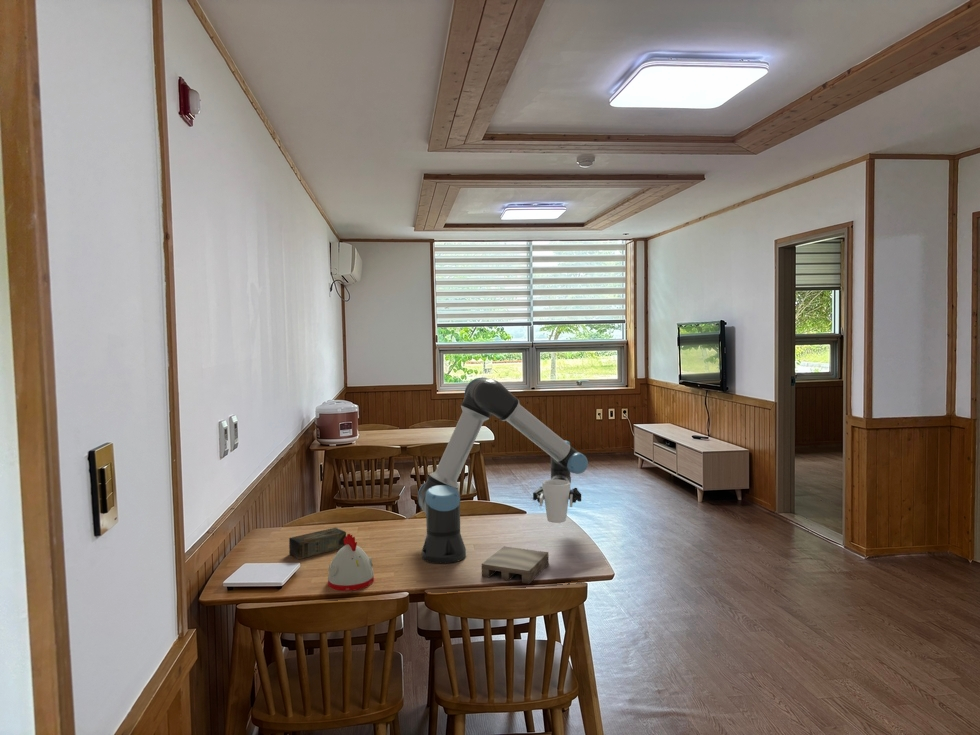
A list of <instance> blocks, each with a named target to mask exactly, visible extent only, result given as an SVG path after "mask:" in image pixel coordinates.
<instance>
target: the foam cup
mask: <svg viewBox="0 0 980 735" xmlns="http://www.w3.org/2000/svg"><path fill="white" fill-rule="evenodd" d="M542 487H543V492H544V505H545V506H544V507H545V513H546V519H547V522H550V523H555V524H556V523H557V524H558V523H559V524H560V523H565V522H566V520H567V514H568V508H569V507H568V506H569V501H570V500H569V492H570V490H571V483H570V482H569V481H566V480H551V479H547V480H543V481H542Z"/></svg>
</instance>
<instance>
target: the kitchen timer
mask: <svg viewBox="0 0 980 735" xmlns="http://www.w3.org/2000/svg"><path fill="white" fill-rule="evenodd" d="M357 543H358V541H356V537H355V536H353V534H351V533H346V536H345V539H344V544H345V546H343V547H342V548H340V549H338V551H337V552H336V553H335V555H334V557H333V559H332V561H331V562H329V565H328V566H329V567H328V577H327V585H328V587H329V588H330V589H332V590H335V591H340V592H341V591H345V592H347V591H349V592H351V591H356V590H361V589H365V588H367V587H369V586H370V585H372V584H373V582H375V578H374V575H375V574H374V570H373V561H372V557H371V556H368V555H367V553H366V552H365V551H364V550H363V548H362V547H360V546H358V544H357Z"/></svg>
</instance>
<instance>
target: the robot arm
mask: <svg viewBox="0 0 980 735" xmlns="http://www.w3.org/2000/svg"><path fill="white" fill-rule="evenodd" d="M460 407H461V408H460V409H461V410H462V412H461V414H460V417H459V418H458V422H457V423H456V426H455V427H454V430H453V433H452V434H451V437H450V439H449V441H448V443H447V445H446V447H445V449H444V452H443V454H442V456H441V458H440V461H439V463H438V465H437V467H436V469H435V471H433V472H431V473H429V475H428V477H427V479H426V482H424V483H423V484H422V485H421V486H420V488H419V490H418V492H417V502H418V505H419V507H420V509H421V511H423V512H424V514H425V517H426V518H425V520H426V523H425V524H426V536H425V539H424V543H423V547H422V549H421V559H422V560H424V561H426V562H428V563H431V564H451V563H456V562H459V561H461V560H463V559H465V558H466V555H467V552H466V551H467V549H466V545H465V543H464V539H463V537H462V534H461V496H460V491H459V490H458V489H459V485H458V480H459V477H460V475H461V472H462V470H463V468H464V466H465V464H466V462H467V459H468V457H469V454H470V452H471V450H472V448H473V446H474V444H475V442H476V439H477V437H478V435H479V432H480V430H481V428H482V427H483V424H484V423H485V422H486V421H488V420H489V419H490V418H491V416H492V415H493V416H494V417H496V418H497V419H499V421H502V422H505V421H506V423H508V424H509V425H511V426H512V427H514V429H516V430H517V431H518V432H520V433H521V434H522V436H525V438H527V439H528V440H530V441H531V442H532V443H534V444H535V445H536V446H538V448H540V449H541V450H542V451H543V452H545V453H546V454H547V455H549V456H550V480H566V481H569V482H570V484H571V483H572V477H571V473H572V474H576V475H580V474H583V473H584V472H585V471H586V470H587V468H588V466H589V461H588V458H587V456H586V455H585V454H583V453H582V452H579V451H577V449H575V448H574V447H572V446H571V442H570V441H568V440H566V439H565V440H564V439H563V438H562V437H560V436H559V435H558V434H557V433H555V432H554V431H553V430H552V429H551V428H550V427H548V426H547V425H546V424H544V423H543V422H542V421H541V420H539V419H538V418H537V417H536V416H535V415H533V414H532V413H531V412H530V411H528V410H527V409H526V408H525V407H523V405H521V404H520V399H518V398H517V397H516V396H515V395H514V394H512V392H510V391H509V390H508V389H507V387H505V385H503V383H501V382H499V381H497V380H495V379H491V378H487V377H483V376H482V377H476V378H474V379H471V381H469V382H468V384H467V385H466V386H465V390H464V398H463V400H462V403H461V404H460ZM532 500H533V501H537V503H539V507H542V506H543V504H544V501H545V499H544V492H543V486H540V487H538V489H536V490H535V491H534V492H532ZM568 501H569V507H570V508H573V504H575V503H577V502H582V493H581V492H580V491H579V490H578V487H574V488H572V489H570V492H569V500H568Z"/></svg>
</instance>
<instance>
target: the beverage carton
mask: <svg viewBox="0 0 980 735" xmlns="http://www.w3.org/2000/svg"><path fill="white" fill-rule="evenodd" d="M345 536H347V532H346V531H345V530H343V529H340V528H339V527H336V526H335V527H333V528H328V529H323V530H319V531H315V532H309V533H305V534H301V535H297V536H292V537H289V540H288V541H289V544H288V546H289V548H288V549H289V551H288V552H289V555H290V556H292V557H294V558H295V559H297V560H302V559H305V558H310V557H314V556H317V555H321V554H326V553H328V552H332V551H336V550H340V549H341V548H342V547H343V546H345V544H344V539H345Z"/></svg>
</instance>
